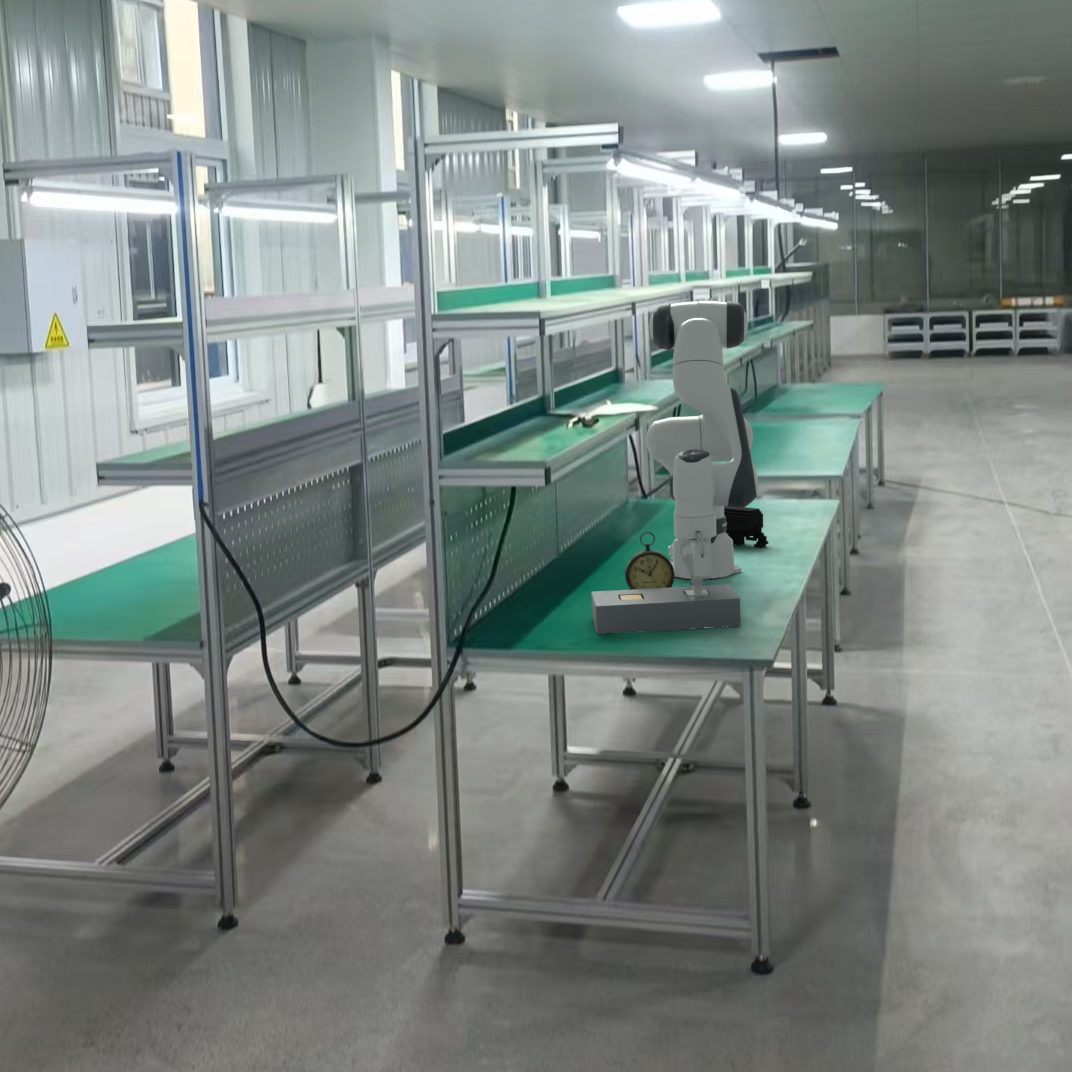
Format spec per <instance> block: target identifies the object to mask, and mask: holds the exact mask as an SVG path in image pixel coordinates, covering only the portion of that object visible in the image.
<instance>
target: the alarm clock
mask: <svg viewBox="0 0 1072 1072" xmlns="http://www.w3.org/2000/svg"><path fill="white" fill-rule="evenodd" d="M645 534H650V535H651V536H652V537H653V540H652V542H651V543H646V544H645V543H644V542H642V537H643V536H644V535H645ZM655 540H656V537H655V535H654V534H653V532H651V531H645V532H642V534H640V537H639V541H640V543H641V544H642V545H643V546H645V549H644V550H640V551H638V552H636V553H635V554H633V555H632V556H631V557H630V558H629V559H628V561H627V563H626V565H625V569H624V580H625V582H626V586H628V590H633V589H651V588H670V587H673V584H674V582H675V577H674V568H673V566H672V564H671V562H670V559H669V558H668V557H667V556H666V555H664V554H663V553H661V552H660V551H659V550H656V549H655V550H654V549H651V548H650V546H653V544H654V543H655V542H656V541H655Z"/></svg>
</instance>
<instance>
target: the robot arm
mask: <svg viewBox="0 0 1072 1072" xmlns="http://www.w3.org/2000/svg"><path fill="white" fill-rule="evenodd" d="M652 312H653V313H652V314H651V317H650V318H649V319H650V320H649V325H648V326H649V328H648V329H649V330H648V331H649V335H650V338H651V339H652V341H653V342H652V343H653V344H654V345H655V346H656V347H657V348H659V349H662V350H666V351H671V350H673V355H672V356H673V357H672V382H673V390H674V392H675V394H676V396H677V397H678V398H679V400H680V401H682V402H683V403H685V405H687V406H689V407H690V408H693V409H695V410H697V411H699V412H701V414H700V415H692V416H691V415H690V416H689V415H688V416H671V417H667V418H663V419H659V420H658V419H657V420H655V421H653V422H652V423H651V424H650V426H649V427H648V430H647V431H646V435H645V445H646V448H647V451H648V453H649V455H650V456H651V458H653V459H654V460H655V461H656V462H658V463H659V464H661V465H662V467H664V468H665V469H666V470H667V471H668V473H669V497H670V498H671V499H672V500H673V501H674V505H675V506H674V510H673V532H674V534H673V535H674V537H675V539H673V540H674V541H673V542H672V544H670V545H669V546H668V555H669V556H671V557H670V558H669V561H670V562H671V564H672V566H673V568H674V578H676V577H677V578H681V579H690V581H691V586H692V590H693V592H694V593H695V594H697V593H702V586H703V582H704V580H710V578H711V579H718V578H719V577H720V578H724V577H729V576H731V575H732V574H737V573H738V574H739V573H742V567H741V566H739V565H737V564H735V552H734V545H733V540H732V539H731V538H730V537H729V536H728V534H726V532H725V531H726V530H727V529H726V525H727V521H726V517H725V516H724V506H728V507H740V508H744V507H746V508H747V506H749V505H750V504H752V502H753V501H754V500H756V498H758V492H759V484H760V483H759V479H758V473H757V471H756V468H755V465H754V463H753V459H752V455H751V448H752V445H753V441H754V432H753V428H752V426H751V423H749V420H747V418H745V415H744V412H743V408H742V402H741V399H740V396H739V394H738V391H737V389H735V388H733V387H730V385H729V384H728V382H727V380H726V378H725V373H724V352H723V348H726V349H731V348H736V347H740V345H741V344H742V343H744V340H745V338H746V336H747V333H748V329H749V320H748V316H747V313H746V311H745V308H744V306H743V305H742V304H741V303H739V302H736V301H731V300H730V301H729V300H727V301H725V302H724V301H717V300H698V301H683V302H676V303H670V302H668V303H664V304H663V303H662V304H659V305H657V306H656V307H655V308H654V309H653V311H652Z"/></svg>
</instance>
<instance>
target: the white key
mask: <svg viewBox="0 0 1072 1072" xmlns="http://www.w3.org/2000/svg"><path fill="white" fill-rule="evenodd" d="M685 595H686V597H688V596H707V595H709V593H708V592H707V591H706V589H703V590H702V593H697V594H695V593H694V592H693V590H685Z"/></svg>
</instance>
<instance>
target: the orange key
mask: <svg viewBox="0 0 1072 1072" xmlns="http://www.w3.org/2000/svg"><path fill="white" fill-rule="evenodd" d="M632 599H642V597H641V595H622V596H620V600H632Z"/></svg>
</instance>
